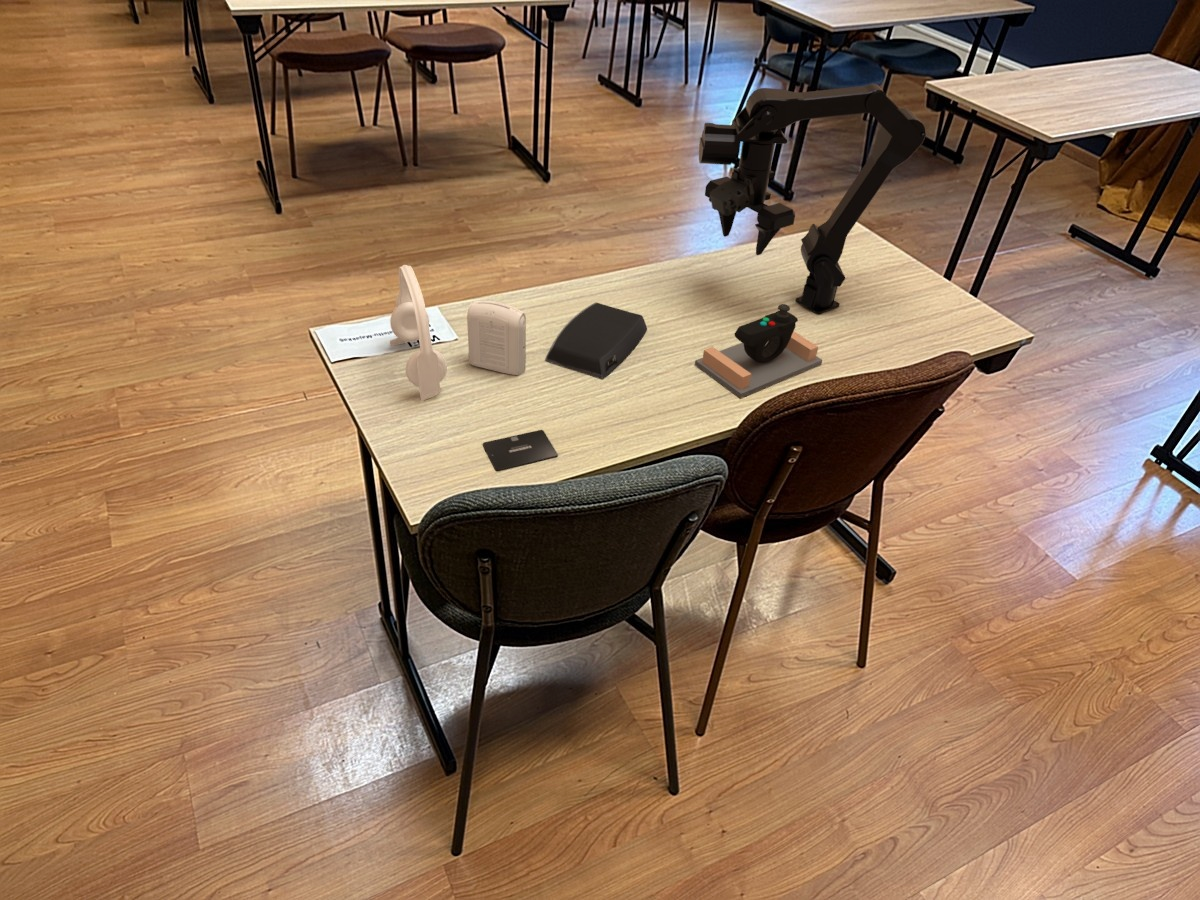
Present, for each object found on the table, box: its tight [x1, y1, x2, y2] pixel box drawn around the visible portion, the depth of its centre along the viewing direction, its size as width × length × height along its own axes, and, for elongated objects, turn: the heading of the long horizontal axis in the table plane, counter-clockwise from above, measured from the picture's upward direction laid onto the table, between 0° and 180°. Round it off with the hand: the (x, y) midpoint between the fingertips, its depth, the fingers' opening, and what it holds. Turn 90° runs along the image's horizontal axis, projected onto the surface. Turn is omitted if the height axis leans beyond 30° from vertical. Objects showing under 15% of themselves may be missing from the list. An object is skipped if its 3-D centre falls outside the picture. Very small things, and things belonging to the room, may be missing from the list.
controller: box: [734, 303, 799, 363], centre depth 147 cm, size 4×12×10 cm, turn 124°
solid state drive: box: [482, 429, 559, 472], centre depth 129 cm, size 7×10×1 cm
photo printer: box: [466, 300, 527, 376], centre depth 143 cm, size 10×4×12 cm, turn 72°
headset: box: [389, 264, 448, 402], centre depth 139 cm, size 20×7×18 cm, turn 20°
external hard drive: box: [544, 301, 648, 380], centre depth 153 cm, size 13×19×4 cm
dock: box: [694, 330, 823, 399], centre depth 150 cm, size 20×12×4 cm, turn 125°
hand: (741, 245), depth 161 cm, fingers open, 9 cm apart
